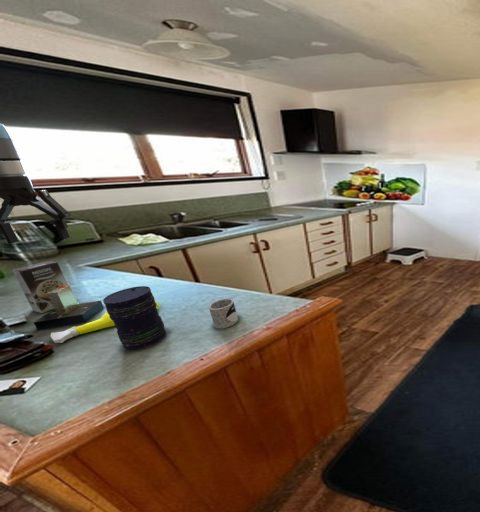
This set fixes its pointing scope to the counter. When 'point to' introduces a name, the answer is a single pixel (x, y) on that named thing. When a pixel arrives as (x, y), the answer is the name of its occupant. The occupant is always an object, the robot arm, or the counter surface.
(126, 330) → the storage jar
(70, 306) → the small grey box
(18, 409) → the counter surface
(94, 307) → the dispenser panel
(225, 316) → the mug
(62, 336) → the yellow flared piece
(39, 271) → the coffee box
